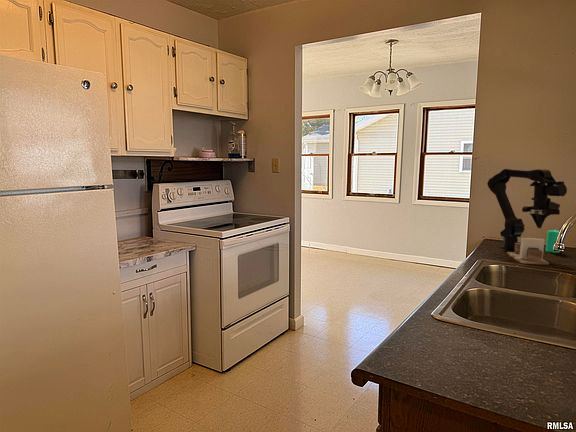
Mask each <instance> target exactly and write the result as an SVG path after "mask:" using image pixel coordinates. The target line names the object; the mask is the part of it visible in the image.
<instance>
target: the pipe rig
mask: <svg viewBox="0 0 576 432" xmlns="http://www.w3.org/2000/svg"><path fill="white" fill-rule="evenodd" d="M520 247H521V242H518V243H515V249H514V251H507V255H509V257H512V258H513V259H514V260H515V261H517V262H519V263H521V264H529V265H530V264H531V265H548V266H549V264H550V262H549V261H547V260H546V259H543V260H542V251H541V250H528V256H527V259H525V258H520Z"/></svg>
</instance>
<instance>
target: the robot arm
mask: <svg viewBox="0 0 576 432" xmlns="http://www.w3.org/2000/svg"><path fill="white" fill-rule="evenodd" d="M511 178H520V179H521V178H522V179H528V180H531V181H533V182H531V183H530V184H529V187H533V188H534V189H533V197H531V200H533V205H524V206H523V207H522V208H521V209H522V210H521V212H522V213H528V212H530V213H529V215H530V216H531V217H532V219H533V221H534V223H535V225H536V227H537V229H542V227H543V224H544V222H545V220H546V218H547V217H549V216H551V215H553V216H555V215H559V216H560V214H561V213H560V212H561V210H560V207H561V204H559V203H556V202H554V201H551V200H552V199H551V198H550V197H565V195H566V194H567V192H568V188H567V186H566V184H565V181H563V180H562V181H556V179H555V178H554V177H553V175H552V172H551V170H550V169H547V168H546V169H545V168H544V169H542V168H541V169H531V170H527V169H526V170H524V169H512V168H504V169H502V170H501V171H499V172H498V173H497V174H495V175H493V176H492V177H491V178H489V179H488V180H487V184H486V185H487V187H488V188H489V190H490V191H491V193H492V194H493V195H494V196H495V198H496V199H497V203H498V205H499V206H500V210H501V212H502V214H503V217H504V225H503V226H504V229H503V230H501V231H499V232H500V233H499V234H500V237H503V241H502V245H500V246H499V247H500V248H502V249H504V250H505V249H506V250H515V243H519V242H518V238H522V237H521V236H522V234H524V231H525V224H524V222H523V219H522V218H518V217H516V215H515V212H514V209H513V207H512V205H511V202H510V200H509V197H508V195H507V193H506V192H507V183H508V182H509V181H510V179H511ZM549 196H550V197H549Z"/></svg>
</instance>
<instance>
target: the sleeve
mask: <svg viewBox="0 0 576 432" xmlns="http://www.w3.org/2000/svg"><path fill="white" fill-rule="evenodd" d="M520 238H521V240H520V243H521V247H520V258H525V259H527V256H528V250H541V251H542V260H543V258H544V249H545V238H534V237H532V238H531V237H520Z"/></svg>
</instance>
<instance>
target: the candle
mask: <svg viewBox="0 0 576 432" xmlns="http://www.w3.org/2000/svg"><path fill="white" fill-rule="evenodd" d="M559 231H560V230H557V229H550V230H547V232H546V233H547V234H546V244H545V251H546V252H548V253H555V254H556V253H557V254H559V253H560V252H561V250H560V251H554V250H553V245H554V243H555V241H556V239H557V236H558V234H559Z"/></svg>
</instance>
